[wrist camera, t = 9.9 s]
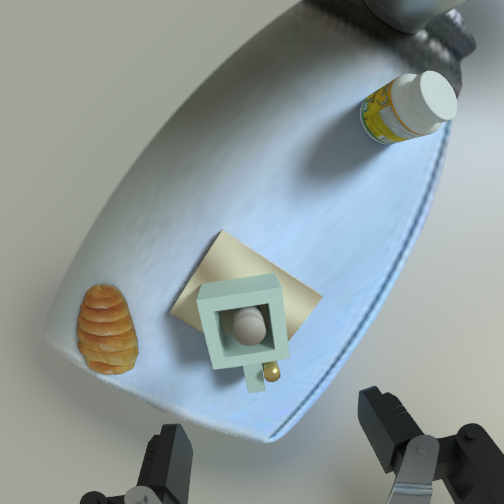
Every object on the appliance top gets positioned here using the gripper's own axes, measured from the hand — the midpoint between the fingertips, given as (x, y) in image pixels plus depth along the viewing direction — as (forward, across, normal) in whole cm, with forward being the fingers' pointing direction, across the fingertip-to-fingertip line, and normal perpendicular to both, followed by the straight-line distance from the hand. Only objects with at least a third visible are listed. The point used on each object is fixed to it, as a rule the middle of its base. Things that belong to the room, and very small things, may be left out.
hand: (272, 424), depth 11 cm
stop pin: (+15, -1, +6) cm, 16 cm away
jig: (+16, 0, 0) cm, 16 cm away
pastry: (+16, +16, +1) cm, 23 cm away
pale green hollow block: (+15, +1, +3) cm, 15 cm away
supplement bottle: (+16, -16, -15) cm, 27 cm away
